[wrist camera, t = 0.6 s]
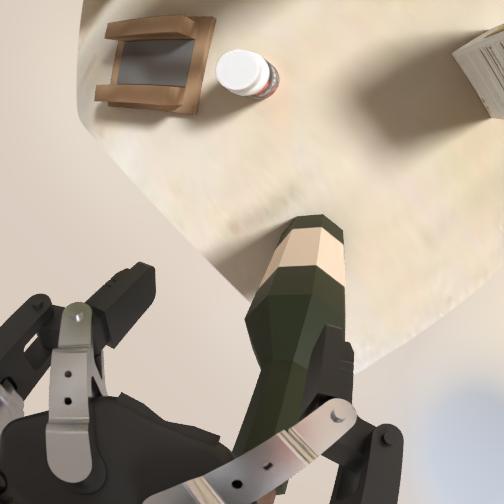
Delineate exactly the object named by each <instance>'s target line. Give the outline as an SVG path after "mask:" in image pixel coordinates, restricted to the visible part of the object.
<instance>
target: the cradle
mask: <svg viewBox="0 0 504 504" xmlns="http://www.w3.org/2000/svg"><path fill="white" fill-rule="evenodd" d="M215 23H216V19H215V18H214V17H185V16H184V15H168V16H156V17H146V18H138V19H131V20H124V21H118V22H112V23H108V26H107V30H106V35H105V38H106V39H112V40H118V45H117V50H116V55H115V60H114V66H113V72H112V78H111V85H96V92H95V101H106V102H108V106H110V107H127V108H140V109H151V110H161V111H169V112H177V113H185V114H192V115H193V114H197V108H198V103H199V97H200V92H201V86H202V81H203V76H204V71H205V67H206V62H207V57H208V53H209V48H210V44H211V39H212V35H213V31H214V27H215Z"/></svg>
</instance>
